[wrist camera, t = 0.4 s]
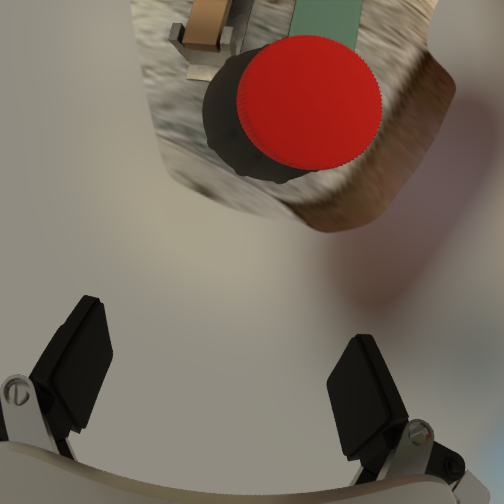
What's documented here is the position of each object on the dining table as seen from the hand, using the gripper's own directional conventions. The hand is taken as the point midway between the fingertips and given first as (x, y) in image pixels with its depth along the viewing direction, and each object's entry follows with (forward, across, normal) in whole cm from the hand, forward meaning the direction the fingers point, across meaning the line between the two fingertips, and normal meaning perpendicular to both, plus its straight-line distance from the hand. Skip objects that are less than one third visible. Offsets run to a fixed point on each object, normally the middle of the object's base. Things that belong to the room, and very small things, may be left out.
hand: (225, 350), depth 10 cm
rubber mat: (+30, -7, -22) cm, 38 cm away
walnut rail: (+21, +6, -22) cm, 31 cm away
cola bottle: (+30, -1, -8) cm, 31 cm away
